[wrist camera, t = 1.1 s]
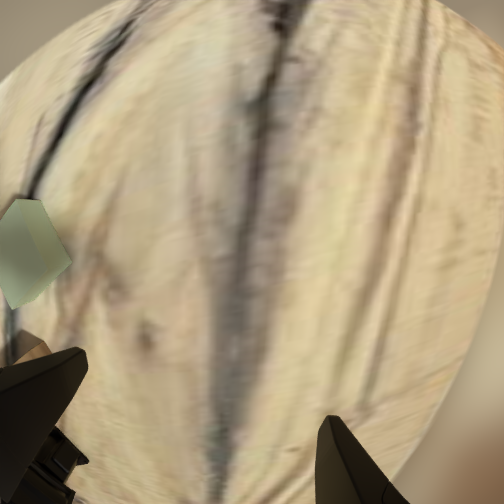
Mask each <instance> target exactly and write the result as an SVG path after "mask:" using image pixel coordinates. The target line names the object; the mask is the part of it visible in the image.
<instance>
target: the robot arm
mask: <svg viewBox="0 0 504 504" xmlns="http://www.w3.org/2000/svg"><path fill="white" fill-rule="evenodd" d="M87 371H88V361H87V356H86V352H85V350H83V349H81V348H79V347H72V348H69V349H66V350H63V351H59V352H56V353H53V354H49V355H46V356H42V357H39V358H36V359H32V360H29V361H25V362H22V363H18V364H14V365H11V366H7V367H4V368H0V504H72V501H73V499H74V496H75V493H76V492H75V491H74V490H71V489H70V488H69V487H67V486H66V485H65V483H66V482H67V480H68V478H69V476H70V475H71V473H72V471H73V470H74V468H75V466H78V465H84V464H88V463H89V460H88V459H87V458H86V457H85V456H84V455H83V454H82V453H81V452H80V451H79V450H78V449H77V448H76V447H75V446H74V445H73V444H72V443H71V442H70V441H69V440H68V439H67V438H66V437H65V436H64V435H63V434H62V433H61V432H60V430H59V429H57V428H53V427H54V426H55V424H56V423H57V421H58V420H59V418H60V417H61V415H62V414H63V412H64V411H65V409H66V408H67V406H68V405H69V403H70V402H71V400H72V399H73V397H74V395H75V393H76V392H77V390H78V388H79V386H80V384H81V382H82V380H83V379H84V377H85V375H86V373H87ZM315 498H316V504H410V503H409V502H408V501H407V500H406V499H405V498H404V497H403V496H402V495H401V494H400V493H399V492H398V490H397V489H396V488H395V487H394V486H393V484H392V483H391V482H390V481H389V480H388V478H387V477H386V476H385V475H384V473H383V472H382V471H381V470H380V468H379V467H378V466H377V464H376V463H375V462H374V461H373V459H372V458H371V457H370V456H369V454H368V453H367V452H366V451H365V449H364V448H363V447H362V445H361V444H360V443H359V442H358V440H357V439H356V438H355V436H354V435H353V434H352V432H351V431H350V430H349V429H348V427H347V426H346V425H345V423H344V422H343V421H342V419H341V418H340V417H339V416H336V415H327V416H326V418H325V419H324V421H323V423H322V425H321V426H320V428H319V431H318V438H317V450H316V461H315Z"/></svg>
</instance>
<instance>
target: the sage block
mask: <svg viewBox="0 0 504 504" xmlns="http://www.w3.org/2000/svg"><path fill="white" fill-rule="evenodd" d="M71 263H72V261H71V260H70V258H69V256H68V254H67V252H66V251H65V249H64V247H63V245H62V243H61V241H60V239H59V237H58V235H57V233H56V231H55V229H54V227H53V225H52V223H51V221H50V219H49V217H48V215H47V213H46V211H45V208H44V206H43V204H42V202H41V200H26V199H16V200H15V201H14V202H13V204H12V205H11V206H10V208H9V209H8V210H7V212H6V213H5V214H4V216H3V217H2V219H1V220H0V287H1V289H2V291H3V293H4V295H5V297H6V299H7V301H8V303H9V305H10V307H11V309H12V310H13V309H15V308H17V307H20V306H22V305H24V304H27V303H29V302H31V301H33V300H35V299H36V298H37V297H38V296H39V295H40V294H41V293H42V292H43V291H44V290H45V289H46V288H47V287H48V286H49V285H50V284H51V283H52V282H53V281H54V280H55V279H56V278H57V277H58V276H59V275H60V274H61V273H62V272H63V271H64V270H65V269H66V268H67V267H68V266H69V265H70V264H71Z"/></svg>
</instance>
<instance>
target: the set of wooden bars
mask: <svg viewBox="0 0 504 504" xmlns="http://www.w3.org/2000/svg"><path fill="white" fill-rule="evenodd" d="M49 354H52V353H51V351H50V349H49V348H48V346H47V345H46V343H45V342H44V341H43V342H42V343H40V344H39V345H37V346H36V347H34V348H33V349H31V350H30V351H28V352H27V353H26V354H25V355H24V356H22V357H21V358H20V359H19V360H18V361H16V362H15V363H14V364H18V363H22V362H25V361H29V360H32V359H36V358H39V357H42V356H46V355H49ZM14 364H13V365H14Z"/></svg>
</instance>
